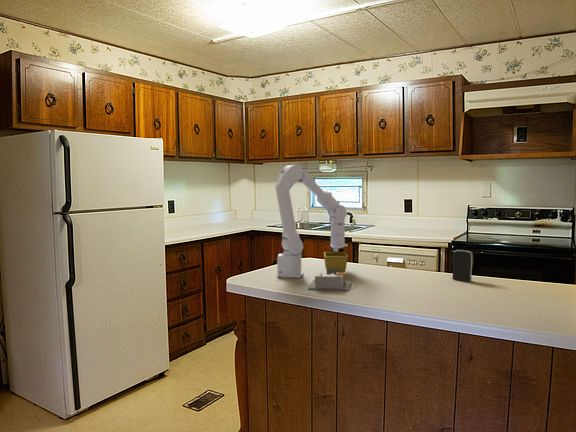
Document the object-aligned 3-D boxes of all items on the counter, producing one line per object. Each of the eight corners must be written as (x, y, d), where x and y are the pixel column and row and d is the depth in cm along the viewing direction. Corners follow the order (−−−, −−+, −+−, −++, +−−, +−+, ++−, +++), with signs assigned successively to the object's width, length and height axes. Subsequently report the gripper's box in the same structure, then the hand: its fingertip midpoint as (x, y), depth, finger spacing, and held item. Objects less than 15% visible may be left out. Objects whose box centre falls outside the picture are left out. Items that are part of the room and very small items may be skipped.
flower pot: (347, 278, 174) (347, 255, 173) (325, 278, 174) (324, 256, 173) (345, 273, 182) (345, 252, 182) (323, 274, 183) (323, 252, 182)
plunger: (322, 284, 163) (321, 272, 163) (325, 278, 173) (325, 267, 173) (345, 285, 161) (345, 273, 161) (347, 278, 171) (347, 268, 171)
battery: (473, 280, 169) (474, 250, 168) (470, 282, 166) (471, 251, 165) (455, 277, 173) (455, 248, 172) (451, 279, 170) (452, 250, 169)
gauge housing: (307, 289, 157) (307, 276, 157) (313, 281, 169) (313, 269, 169) (347, 291, 154) (347, 278, 154) (350, 283, 166) (350, 270, 166)
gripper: (345, 236, 177) (345, 270, 178) (348, 231, 191) (348, 263, 192) (327, 235, 178) (327, 269, 179) (332, 231, 192) (332, 262, 194)
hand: (337, 266), depth 186 cm, fingers closed
